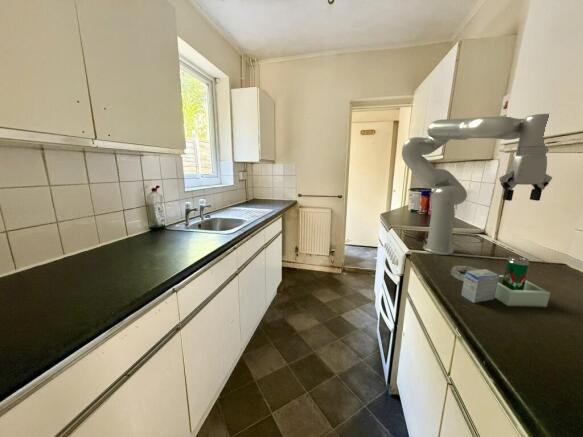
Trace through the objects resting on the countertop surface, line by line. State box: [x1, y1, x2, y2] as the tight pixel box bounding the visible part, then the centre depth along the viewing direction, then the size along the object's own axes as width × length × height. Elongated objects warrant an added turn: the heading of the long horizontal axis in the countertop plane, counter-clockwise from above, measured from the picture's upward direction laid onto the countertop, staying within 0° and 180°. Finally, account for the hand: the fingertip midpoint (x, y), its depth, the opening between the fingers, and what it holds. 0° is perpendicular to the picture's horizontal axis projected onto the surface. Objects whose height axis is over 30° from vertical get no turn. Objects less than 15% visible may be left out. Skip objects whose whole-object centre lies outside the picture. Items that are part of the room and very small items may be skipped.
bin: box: [494, 274, 551, 308], centre depth 73 cm, size 11×11×5 cm
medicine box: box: [461, 268, 500, 303], centre depth 72 cm, size 8×4×9 cm, turn 102°
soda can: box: [502, 256, 530, 290], centre depth 72 cm, size 5×5×12 cm
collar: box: [450, 265, 481, 282], centre depth 86 cm, size 11×11×2 cm
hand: (520, 200), depth 85 cm, fingers open, 9 cm apart
